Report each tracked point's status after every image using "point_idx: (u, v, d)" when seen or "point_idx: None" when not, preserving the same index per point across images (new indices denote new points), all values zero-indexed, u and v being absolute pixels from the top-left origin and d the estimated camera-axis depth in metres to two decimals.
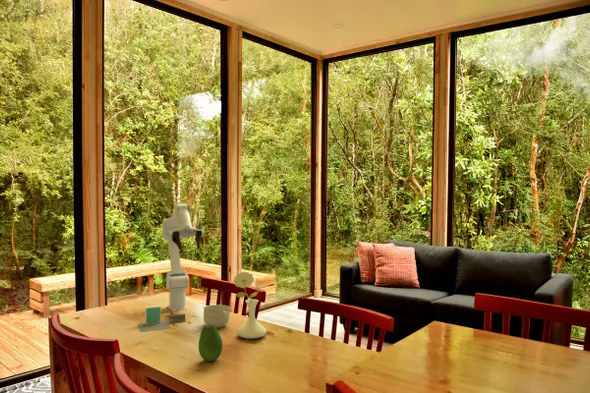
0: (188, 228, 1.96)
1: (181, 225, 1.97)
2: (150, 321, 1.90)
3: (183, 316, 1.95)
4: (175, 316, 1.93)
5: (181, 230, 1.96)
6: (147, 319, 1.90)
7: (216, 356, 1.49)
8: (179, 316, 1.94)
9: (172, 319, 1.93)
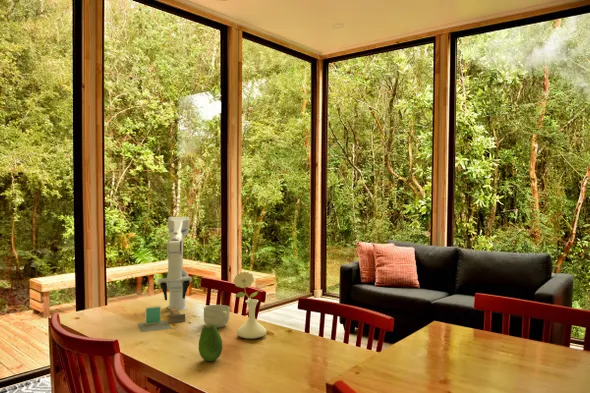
0: (177, 280, 1.99)
1: (171, 275, 1.98)
2: (150, 321, 1.90)
3: (183, 316, 1.95)
4: (175, 316, 1.93)
5: (170, 281, 1.99)
6: (147, 319, 1.90)
7: (216, 356, 1.49)
8: (179, 316, 1.94)
9: (172, 319, 1.93)
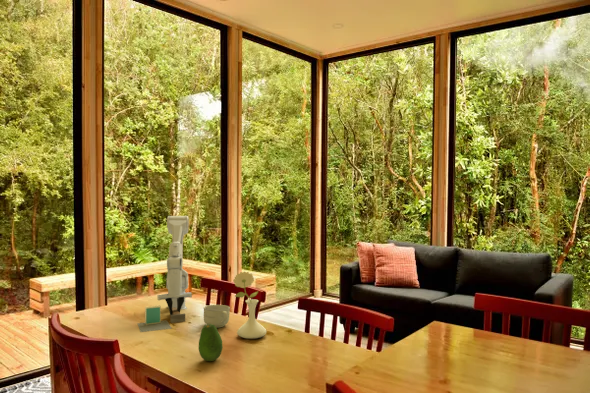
0: (177, 297, 1.99)
1: (170, 291, 1.99)
2: (150, 321, 1.90)
3: (183, 316, 1.95)
4: (175, 316, 1.93)
5: None
6: (147, 319, 1.90)
7: (216, 356, 1.49)
8: (179, 316, 1.94)
9: (172, 319, 1.93)
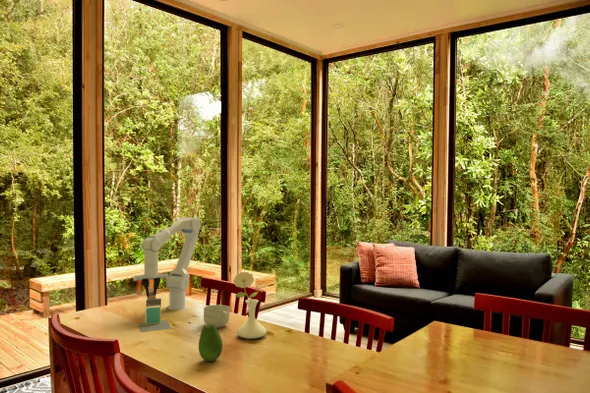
0: (153, 277, 2.01)
1: (147, 271, 2.00)
2: (150, 321, 1.90)
3: (159, 301, 1.97)
4: (151, 301, 1.95)
5: (146, 277, 2.01)
6: (147, 319, 1.90)
7: (216, 356, 1.49)
8: (155, 301, 1.96)
9: (148, 304, 1.95)
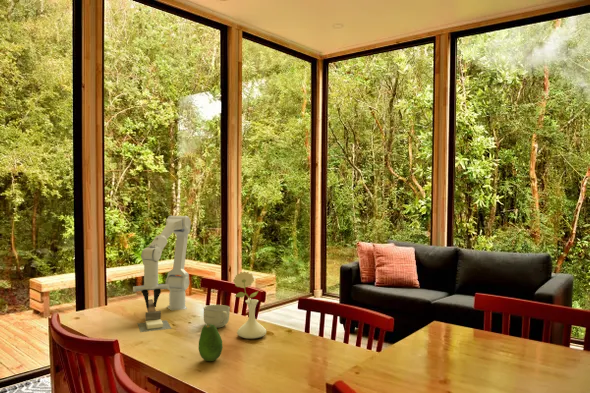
0: (153, 288, 1.95)
1: (146, 282, 1.94)
2: None
3: (158, 314, 1.91)
4: (150, 314, 1.90)
5: (145, 288, 1.95)
6: None
7: (216, 356, 1.49)
8: (154, 314, 1.91)
9: (147, 317, 1.90)
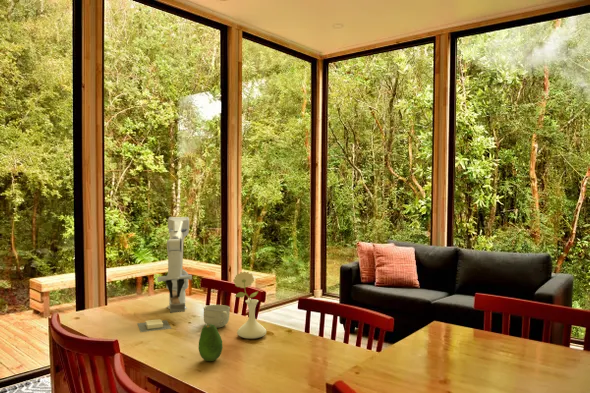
0: (177, 278, 1.99)
1: (170, 273, 1.98)
2: None
3: (183, 306, 1.96)
4: (175, 306, 1.94)
5: (169, 278, 1.99)
6: None
7: (216, 356, 1.49)
8: (179, 306, 1.95)
9: (172, 308, 1.94)
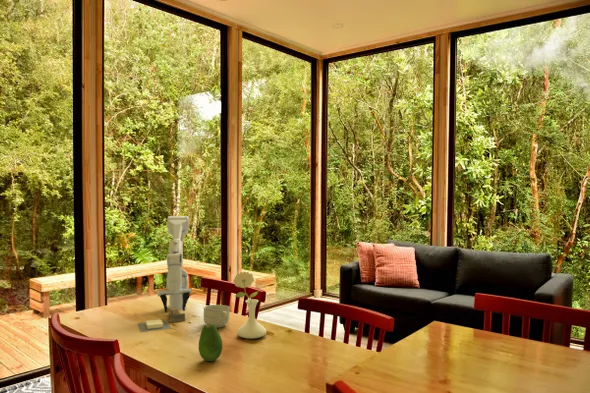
0: (177, 293, 1.99)
1: (170, 287, 1.99)
2: None
3: (183, 316, 1.95)
4: (175, 316, 1.94)
5: None
6: None
7: (216, 356, 1.49)
8: (179, 316, 1.95)
9: (172, 319, 1.94)
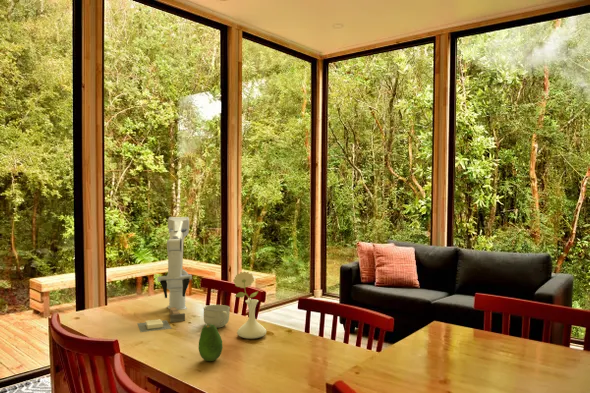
0: (177, 278, 1.99)
1: (171, 273, 1.98)
2: None
3: (183, 316, 1.95)
4: (175, 316, 1.94)
5: (169, 278, 1.99)
6: None
7: (216, 356, 1.49)
8: (179, 316, 1.95)
9: (172, 319, 1.94)
